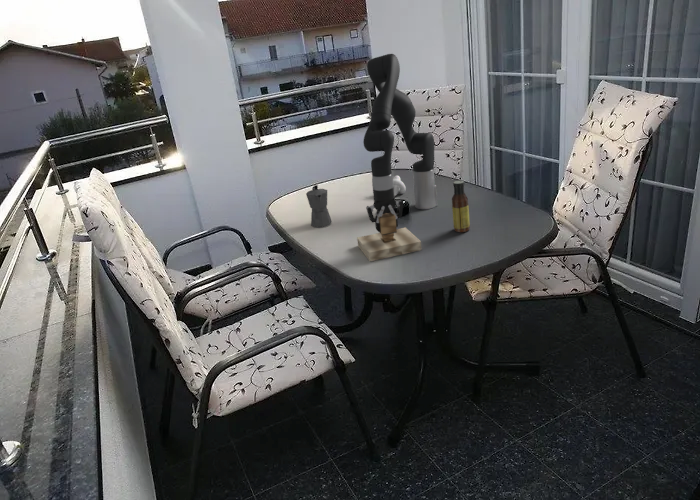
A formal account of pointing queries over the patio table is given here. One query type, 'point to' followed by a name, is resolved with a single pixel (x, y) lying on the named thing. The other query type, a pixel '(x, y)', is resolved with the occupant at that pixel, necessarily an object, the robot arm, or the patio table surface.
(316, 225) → the coffeepot
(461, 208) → the sauce bottle
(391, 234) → the oak peg
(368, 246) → the birch board
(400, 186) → the white knot
